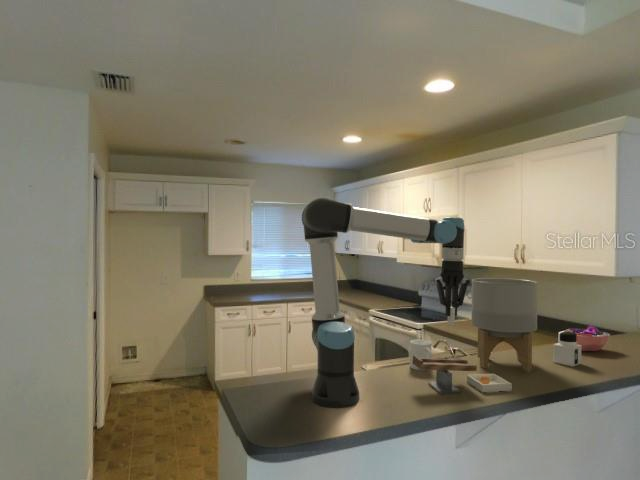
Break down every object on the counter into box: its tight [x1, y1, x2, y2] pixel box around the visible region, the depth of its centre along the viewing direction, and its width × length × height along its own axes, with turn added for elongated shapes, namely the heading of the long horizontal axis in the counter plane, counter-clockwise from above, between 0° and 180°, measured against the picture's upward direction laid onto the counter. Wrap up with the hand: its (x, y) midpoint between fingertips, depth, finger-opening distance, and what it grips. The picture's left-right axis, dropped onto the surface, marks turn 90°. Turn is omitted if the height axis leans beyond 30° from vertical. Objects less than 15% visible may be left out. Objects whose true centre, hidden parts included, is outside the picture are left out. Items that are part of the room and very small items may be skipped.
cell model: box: [563, 325, 611, 352], centre depth 197 cm, size 17×20×11 cm
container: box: [552, 330, 582, 367], centre depth 176 cm, size 8×8×13 cm
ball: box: [480, 376, 490, 384], centre depth 147 cm, size 3×3×3 cm
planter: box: [470, 277, 538, 373], centre depth 175 cm, size 25×25×34 cm
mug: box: [409, 339, 434, 372], centre depth 166 cm, size 12×8×10 cm
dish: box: [466, 373, 513, 394], centre depth 147 cm, size 11×11×3 cm
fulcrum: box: [427, 370, 461, 395], centre depth 144 cm, size 7×10×7 cm
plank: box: [413, 355, 478, 372], centre depth 147 cm, size 20×13×3 cm, turn 98°
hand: (450, 325), depth 153 cm, fingers closed
